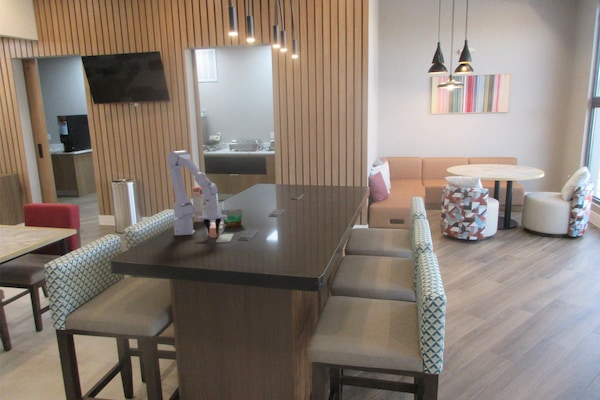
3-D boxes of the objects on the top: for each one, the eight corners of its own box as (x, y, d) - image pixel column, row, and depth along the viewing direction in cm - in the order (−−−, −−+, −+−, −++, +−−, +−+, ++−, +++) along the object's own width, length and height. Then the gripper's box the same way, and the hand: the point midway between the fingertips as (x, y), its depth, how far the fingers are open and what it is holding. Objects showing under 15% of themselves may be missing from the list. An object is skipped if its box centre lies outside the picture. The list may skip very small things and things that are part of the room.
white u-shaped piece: (207, 235, 223) (207, 228, 222) (211, 229, 236) (211, 222, 235) (221, 235, 223) (220, 227, 222) (224, 228, 236) (224, 221, 235)
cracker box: (203, 222, 253) (200, 187, 249) (193, 222, 254) (190, 187, 250) (212, 217, 266) (210, 184, 262) (203, 217, 267) (201, 184, 264)
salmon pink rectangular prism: (209, 237, 219) (209, 228, 218) (213, 232, 229) (212, 223, 228) (216, 237, 219) (215, 227, 218) (219, 232, 229) (218, 223, 228)
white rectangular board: (216, 242, 210) (215, 241, 210) (219, 235, 223) (219, 234, 223) (230, 241, 210) (230, 240, 210) (233, 234, 223) (233, 233, 223)
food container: (222, 229, 235) (221, 211, 234) (221, 226, 241) (220, 209, 239) (245, 226, 239) (244, 209, 237) (243, 224, 244) (242, 207, 243)
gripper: (195, 209, 214) (197, 236, 217) (224, 208, 215) (226, 234, 217) (198, 207, 221) (200, 232, 224) (226, 205, 221) (228, 231, 224)
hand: (213, 233), depth 221 cm, fingers closed on salmon pink rectangular prism, 3 cm apart
